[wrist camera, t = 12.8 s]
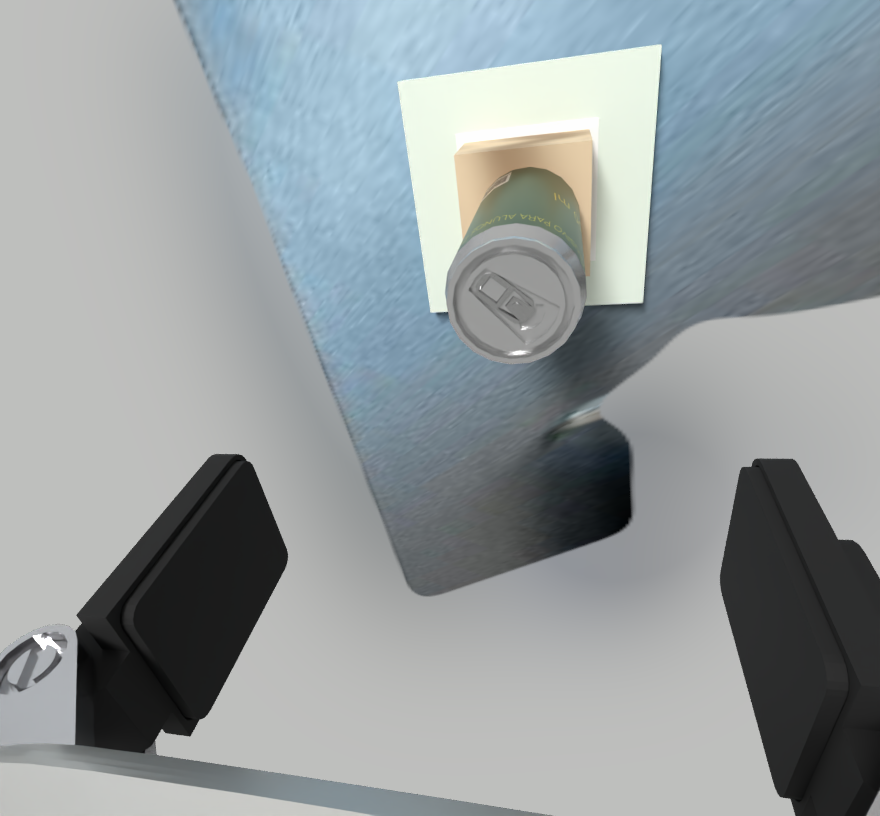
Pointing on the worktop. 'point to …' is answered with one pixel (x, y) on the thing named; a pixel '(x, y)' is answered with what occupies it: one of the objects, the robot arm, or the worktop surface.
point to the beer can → (519, 269)
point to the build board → (533, 113)
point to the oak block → (546, 151)
